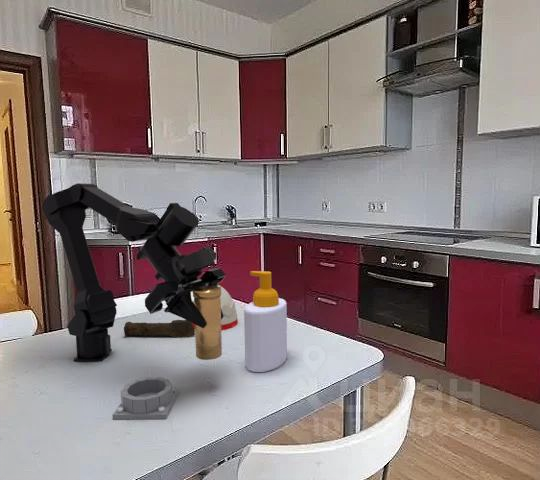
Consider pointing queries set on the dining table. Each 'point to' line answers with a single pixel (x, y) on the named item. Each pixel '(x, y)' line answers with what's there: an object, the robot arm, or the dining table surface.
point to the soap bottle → (265, 327)
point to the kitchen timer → (226, 310)
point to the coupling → (208, 322)
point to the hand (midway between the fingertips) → (213, 322)
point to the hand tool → (161, 329)
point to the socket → (146, 399)
